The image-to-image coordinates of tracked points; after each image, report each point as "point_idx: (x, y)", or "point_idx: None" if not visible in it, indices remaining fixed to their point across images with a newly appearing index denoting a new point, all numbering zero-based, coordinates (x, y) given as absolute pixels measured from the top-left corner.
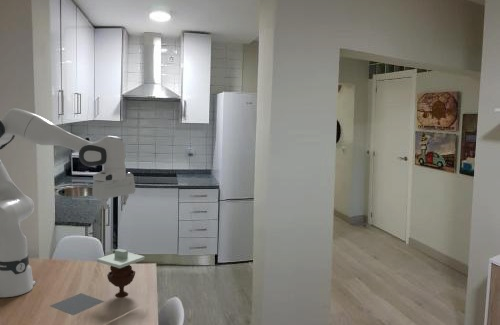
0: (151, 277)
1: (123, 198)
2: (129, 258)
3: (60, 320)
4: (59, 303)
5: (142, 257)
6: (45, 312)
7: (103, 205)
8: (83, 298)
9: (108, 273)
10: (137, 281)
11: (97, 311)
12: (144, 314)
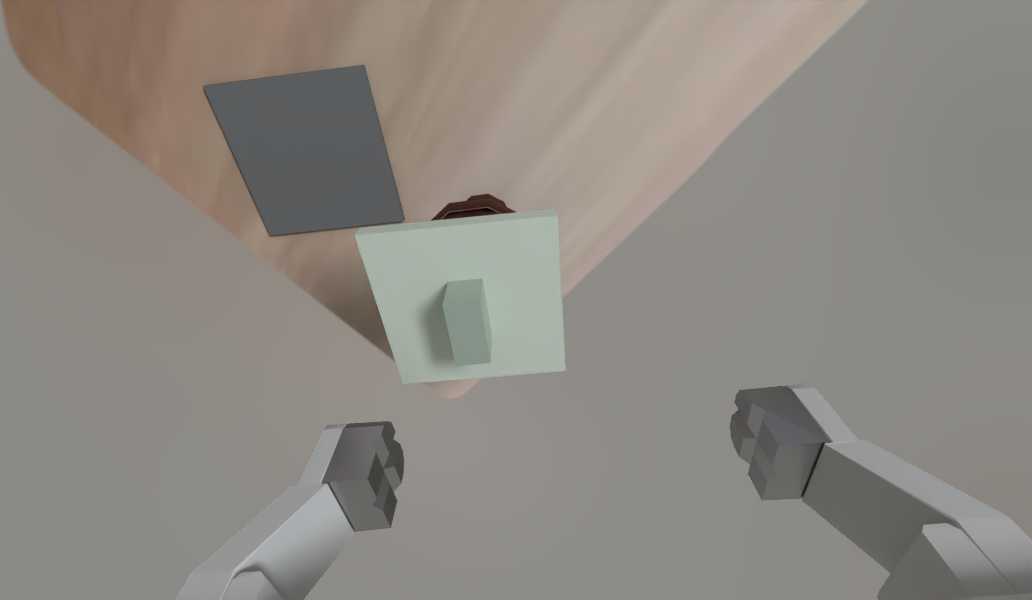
0: (701, 156)
1: (880, 490)
2: (493, 347)
3: (225, 228)
4: (246, 97)
5: (551, 370)
6: (182, 125)
7: (305, 474)
8: (349, 132)
9: (433, 219)
10: (628, 145)
11: (353, 262)
12: None
